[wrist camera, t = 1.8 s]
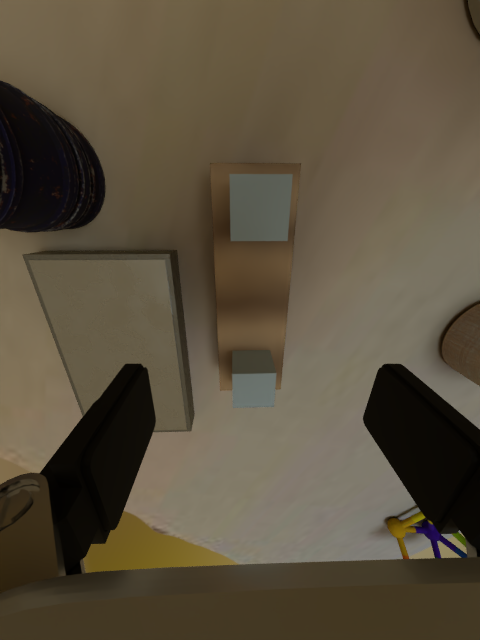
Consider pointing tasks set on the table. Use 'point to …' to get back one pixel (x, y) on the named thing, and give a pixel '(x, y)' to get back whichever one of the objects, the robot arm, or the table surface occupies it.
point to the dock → (118, 323)
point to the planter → (464, 344)
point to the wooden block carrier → (250, 275)
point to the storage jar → (44, 168)
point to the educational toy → (427, 528)
